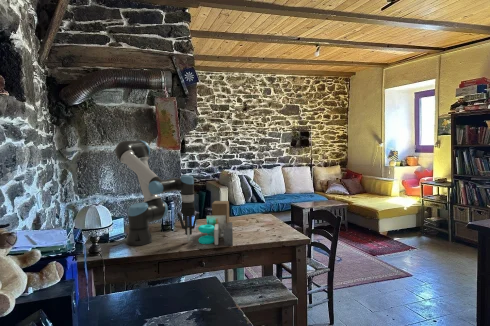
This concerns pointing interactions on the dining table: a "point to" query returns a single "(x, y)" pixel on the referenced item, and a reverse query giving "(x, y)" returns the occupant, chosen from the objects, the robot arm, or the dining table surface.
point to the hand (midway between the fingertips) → (188, 239)
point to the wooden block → (221, 208)
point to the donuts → (207, 238)
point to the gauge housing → (222, 228)
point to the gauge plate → (216, 233)
